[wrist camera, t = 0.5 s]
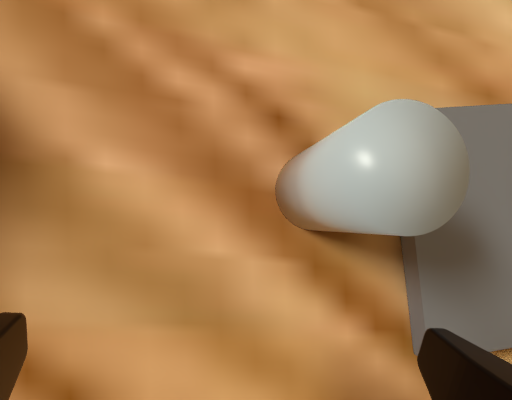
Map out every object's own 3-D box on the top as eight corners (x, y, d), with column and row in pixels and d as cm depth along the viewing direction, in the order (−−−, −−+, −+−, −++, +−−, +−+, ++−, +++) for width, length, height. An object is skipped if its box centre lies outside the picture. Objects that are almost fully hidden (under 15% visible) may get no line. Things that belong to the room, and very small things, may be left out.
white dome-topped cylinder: (354, 226, 23) (477, 228, 13) (279, 234, 22) (350, 243, 13) (346, 149, 23) (461, 96, 13) (271, 154, 23) (335, 102, 13)
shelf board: (587, 324, 25) (611, 330, 24) (413, 353, 23) (428, 362, 22) (558, 106, 26) (580, 99, 24) (387, 117, 24) (399, 110, 22)
